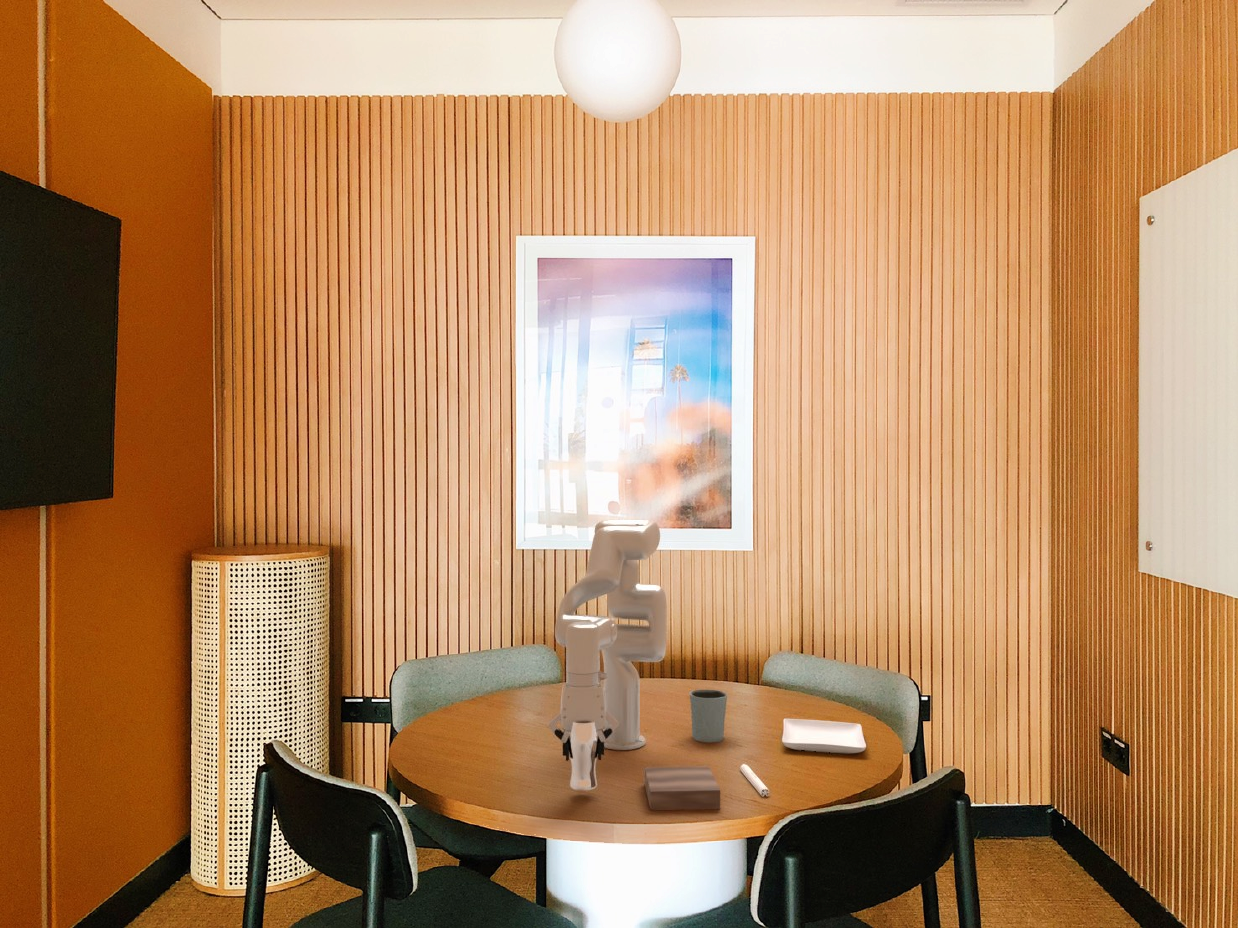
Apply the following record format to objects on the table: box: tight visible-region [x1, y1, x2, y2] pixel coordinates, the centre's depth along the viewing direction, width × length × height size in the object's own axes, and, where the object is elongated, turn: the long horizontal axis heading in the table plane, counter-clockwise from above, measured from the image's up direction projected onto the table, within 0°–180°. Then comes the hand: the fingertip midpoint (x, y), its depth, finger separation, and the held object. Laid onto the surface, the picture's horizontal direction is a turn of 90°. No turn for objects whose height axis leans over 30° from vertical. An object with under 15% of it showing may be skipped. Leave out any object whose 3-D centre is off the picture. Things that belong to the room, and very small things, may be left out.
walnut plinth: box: [644, 765, 721, 811], centre depth 189 cm, size 15×15×4 cm
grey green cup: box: [689, 689, 728, 743], centre depth 232 cm, size 10×10×12 cm
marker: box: [740, 763, 770, 798], centre depth 198 cm, size 18×2×2 cm, turn 8°
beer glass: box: [568, 722, 599, 792], centre depth 189 cm, size 7×7×15 cm
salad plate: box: [781, 718, 867, 755], centre depth 228 cm, size 21×21×3 cm
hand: (583, 757), depth 189 cm, fingers closed on beer glass, 6 cm apart
